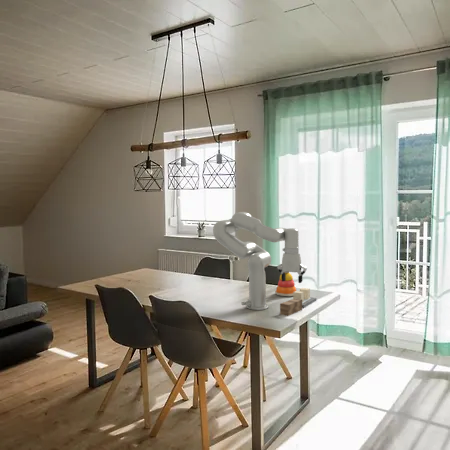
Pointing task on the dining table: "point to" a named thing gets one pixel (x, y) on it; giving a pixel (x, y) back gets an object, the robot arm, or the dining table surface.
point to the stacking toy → (286, 286)
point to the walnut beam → (290, 307)
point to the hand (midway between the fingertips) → (291, 281)
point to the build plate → (304, 296)
